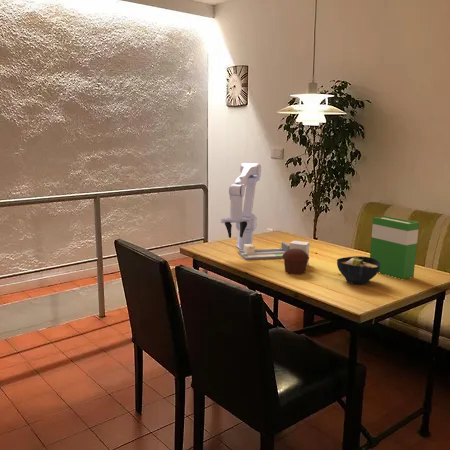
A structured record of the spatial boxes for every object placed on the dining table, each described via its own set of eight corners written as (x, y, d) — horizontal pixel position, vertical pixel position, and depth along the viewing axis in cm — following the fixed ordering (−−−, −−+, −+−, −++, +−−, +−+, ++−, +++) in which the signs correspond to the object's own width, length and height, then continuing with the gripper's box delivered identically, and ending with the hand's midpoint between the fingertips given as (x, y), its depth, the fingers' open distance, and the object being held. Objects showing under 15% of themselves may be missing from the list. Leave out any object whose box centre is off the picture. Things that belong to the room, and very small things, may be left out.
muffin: (307, 268, 214) (308, 247, 212) (309, 276, 203) (310, 253, 202) (280, 267, 215) (281, 245, 213) (281, 274, 204) (282, 252, 202)
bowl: (386, 282, 197) (388, 259, 195) (364, 291, 185) (366, 266, 183) (349, 273, 209) (351, 250, 207) (327, 280, 197) (329, 257, 195)
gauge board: (238, 253, 238) (238, 243, 237) (283, 251, 244) (284, 242, 243) (245, 259, 226) (245, 249, 225) (292, 257, 232) (293, 247, 231)
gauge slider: (243, 252, 236) (243, 243, 235) (251, 251, 237) (251, 243, 236) (248, 256, 229) (248, 247, 228) (255, 255, 230) (256, 247, 229)
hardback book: (368, 269, 215) (373, 217, 210) (379, 267, 219) (384, 215, 214) (402, 280, 201) (408, 224, 196) (413, 277, 205) (419, 222, 200)
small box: (308, 264, 221) (309, 242, 219) (305, 267, 216) (306, 244, 214) (291, 262, 224) (293, 240, 222) (288, 265, 219) (289, 242, 217)
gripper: (223, 211, 223) (222, 239, 225) (253, 210, 226) (252, 238, 229) (220, 208, 229) (219, 236, 232) (248, 208, 233) (248, 235, 235)
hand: (235, 237), depth 231 cm, fingers open, 5 cm apart
